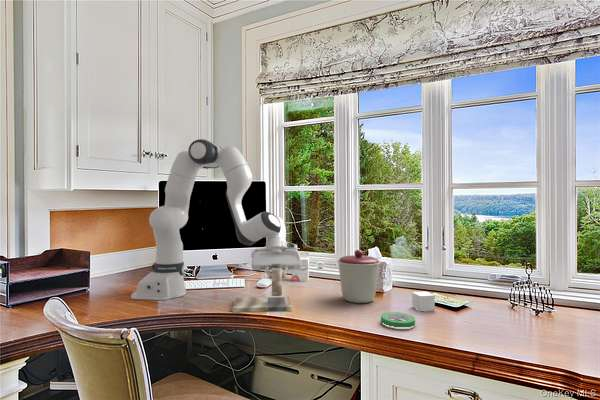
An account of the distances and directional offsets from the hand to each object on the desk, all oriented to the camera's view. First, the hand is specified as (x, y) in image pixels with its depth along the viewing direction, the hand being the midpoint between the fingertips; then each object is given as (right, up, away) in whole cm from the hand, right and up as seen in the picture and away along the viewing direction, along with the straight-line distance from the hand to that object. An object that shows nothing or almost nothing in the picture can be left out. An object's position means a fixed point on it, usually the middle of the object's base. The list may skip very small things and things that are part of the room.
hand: (276, 277), depth 143 cm
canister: (+34, -12, +9) cm, 37 cm away
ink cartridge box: (+9, -12, +46) cm, 48 cm away
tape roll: (+42, -12, -20) cm, 48 cm away
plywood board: (-6, -11, 0) cm, 12 cm away
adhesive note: (+57, -12, -3) cm, 58 cm away
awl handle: (0, -7, 0) cm, 7 cm away
